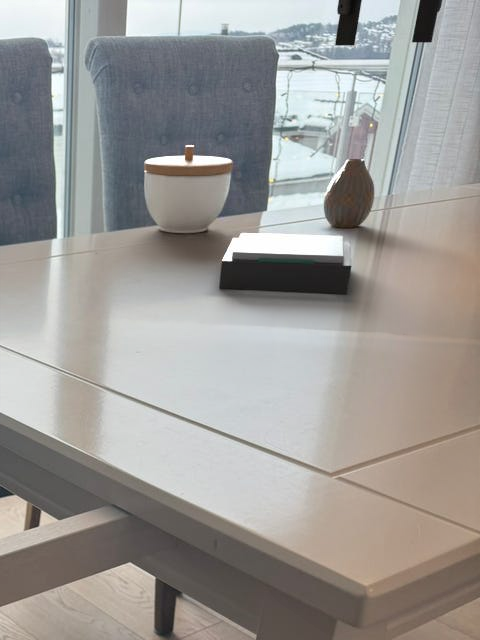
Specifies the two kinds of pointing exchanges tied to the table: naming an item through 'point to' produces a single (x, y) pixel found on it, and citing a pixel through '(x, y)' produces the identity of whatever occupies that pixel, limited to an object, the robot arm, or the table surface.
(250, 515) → the table surface
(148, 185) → the lidded bowl
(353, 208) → the vase
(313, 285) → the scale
